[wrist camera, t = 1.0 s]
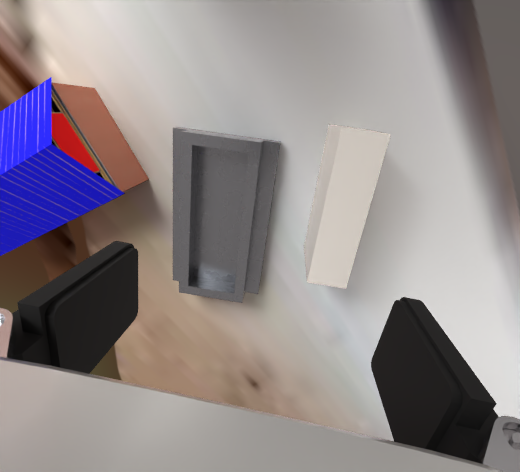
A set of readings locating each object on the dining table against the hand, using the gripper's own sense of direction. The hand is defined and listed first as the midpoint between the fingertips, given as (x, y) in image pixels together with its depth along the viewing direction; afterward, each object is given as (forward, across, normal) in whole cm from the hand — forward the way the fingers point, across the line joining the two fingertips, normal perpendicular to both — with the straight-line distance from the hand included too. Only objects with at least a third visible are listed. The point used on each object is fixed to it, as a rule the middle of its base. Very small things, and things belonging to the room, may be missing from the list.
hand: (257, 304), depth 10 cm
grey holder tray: (+26, +7, +6) cm, 28 cm away
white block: (+26, -6, 0) cm, 27 cm away
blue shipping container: (+26, +28, +3) cm, 38 cm away
